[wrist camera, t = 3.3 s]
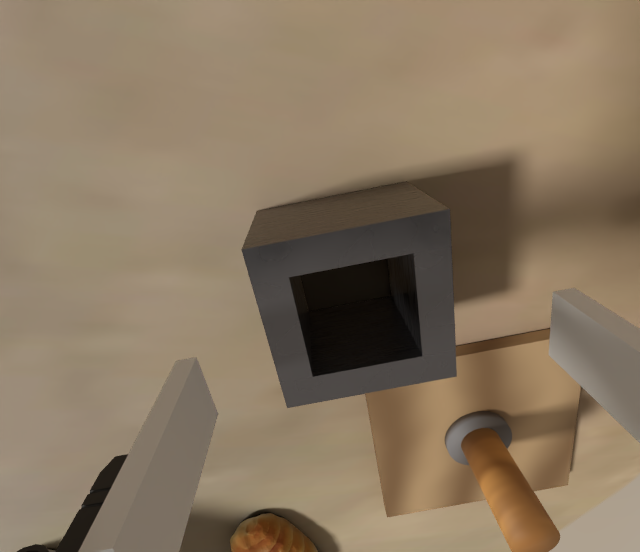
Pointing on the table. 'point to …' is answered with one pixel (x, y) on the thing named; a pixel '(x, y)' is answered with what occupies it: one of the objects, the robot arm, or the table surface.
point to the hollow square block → (361, 317)
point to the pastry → (269, 536)
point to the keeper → (481, 437)
